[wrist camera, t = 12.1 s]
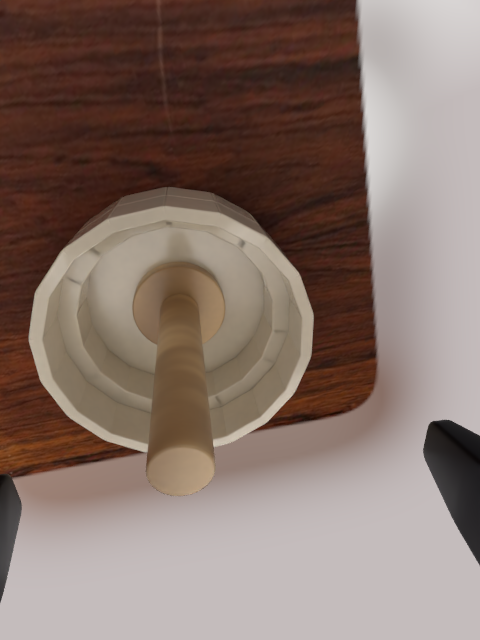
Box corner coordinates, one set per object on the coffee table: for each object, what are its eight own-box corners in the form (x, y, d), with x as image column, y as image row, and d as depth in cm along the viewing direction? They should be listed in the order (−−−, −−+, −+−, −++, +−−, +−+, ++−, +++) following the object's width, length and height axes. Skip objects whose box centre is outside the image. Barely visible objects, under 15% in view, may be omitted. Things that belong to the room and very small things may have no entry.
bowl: (288, 179, 19) (322, 198, 14) (282, 380, 24) (306, 440, 19) (38, 190, 18) (-9, 214, 13) (87, 399, 23) (65, 468, 18)
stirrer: (222, 258, 19) (265, 394, 10) (225, 339, 21) (264, 519, 12) (127, 264, 19) (76, 414, 9) (140, 346, 21) (108, 539, 11)
